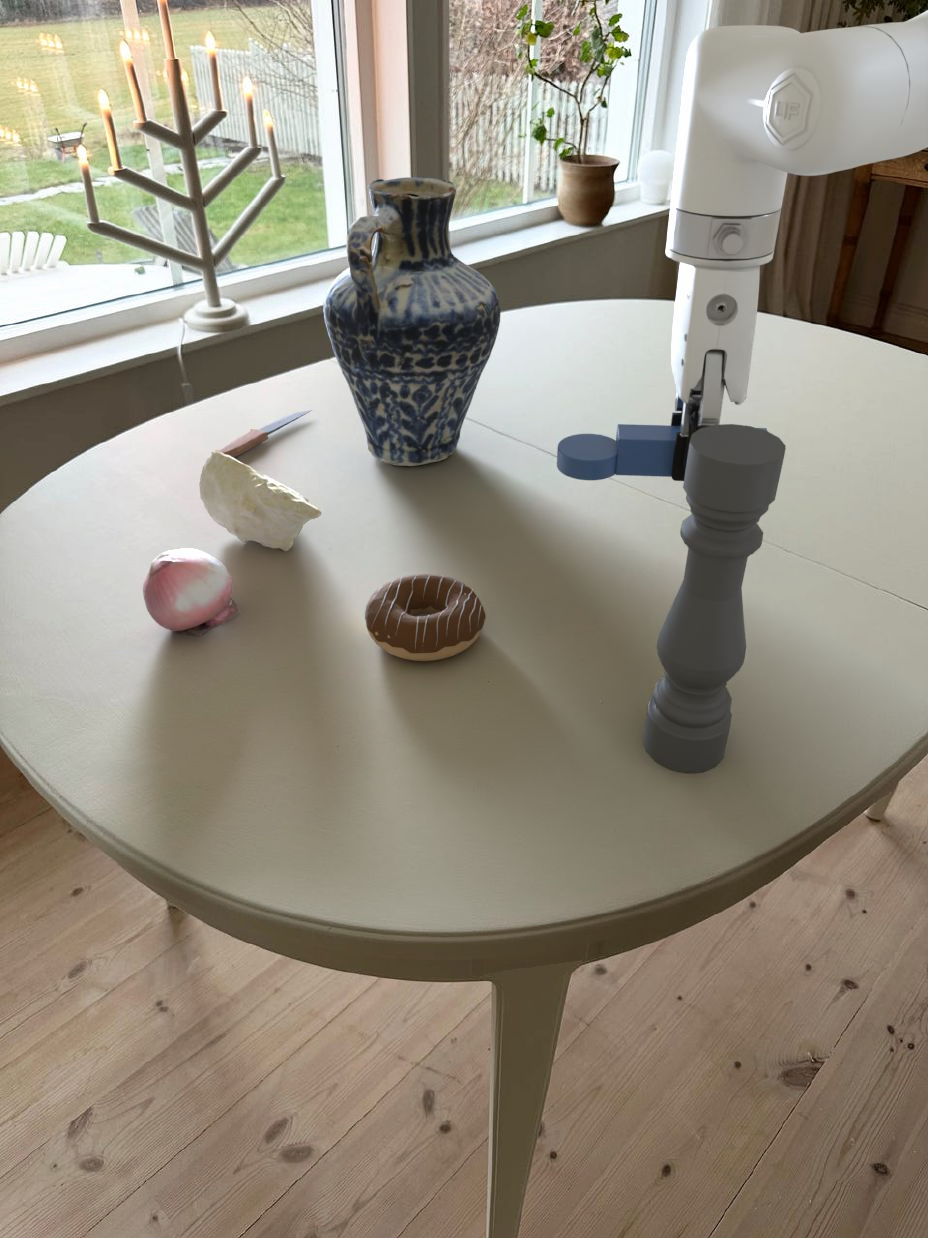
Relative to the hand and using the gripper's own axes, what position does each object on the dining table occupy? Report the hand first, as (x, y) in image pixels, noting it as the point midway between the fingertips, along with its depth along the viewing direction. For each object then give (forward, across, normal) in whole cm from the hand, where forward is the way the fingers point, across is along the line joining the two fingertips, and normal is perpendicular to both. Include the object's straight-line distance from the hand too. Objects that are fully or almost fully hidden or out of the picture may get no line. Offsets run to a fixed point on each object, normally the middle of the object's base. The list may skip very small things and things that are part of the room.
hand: (688, 467), depth 76 cm
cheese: (+15, +10, +39) cm, 43 cm away
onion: (+15, -5, +43) cm, 46 cm away
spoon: (0, 0, +2) cm, 2 cm away
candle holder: (+15, -17, 0) cm, 23 cm away
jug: (+15, +31, +28) cm, 44 cm away
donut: (+15, -5, +22) cm, 27 cm away
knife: (+14, +34, +48) cm, 60 cm away
